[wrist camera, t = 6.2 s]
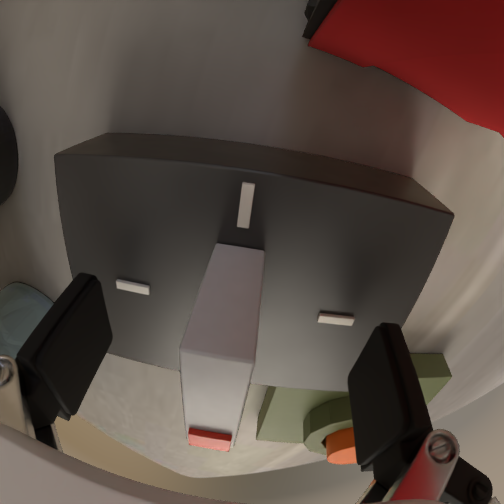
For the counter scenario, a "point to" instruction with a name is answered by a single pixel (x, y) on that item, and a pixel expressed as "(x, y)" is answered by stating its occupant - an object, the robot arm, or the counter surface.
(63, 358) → the robot arm
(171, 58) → the counter surface
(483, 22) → the red coffee machine
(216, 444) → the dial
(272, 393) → the button block
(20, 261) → the counter surface
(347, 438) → the button
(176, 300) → the plate
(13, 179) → the travel mug
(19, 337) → the teal embossed cup
